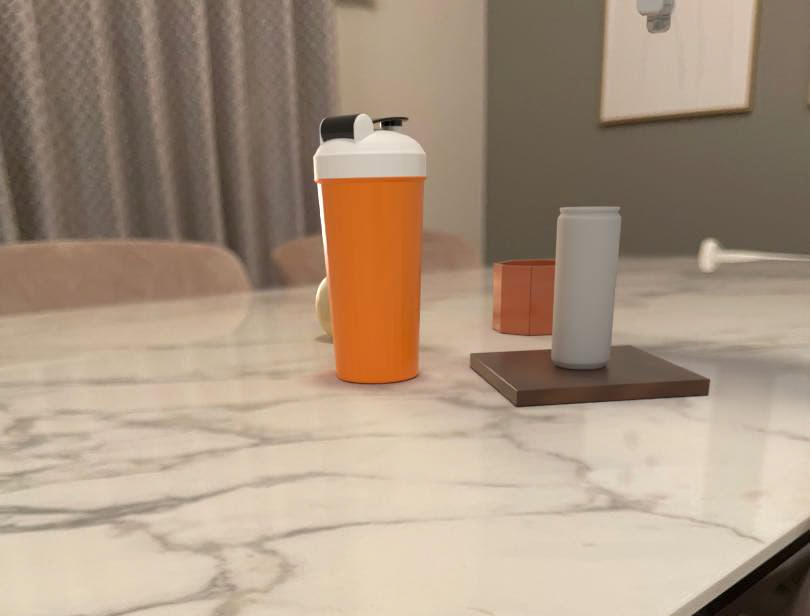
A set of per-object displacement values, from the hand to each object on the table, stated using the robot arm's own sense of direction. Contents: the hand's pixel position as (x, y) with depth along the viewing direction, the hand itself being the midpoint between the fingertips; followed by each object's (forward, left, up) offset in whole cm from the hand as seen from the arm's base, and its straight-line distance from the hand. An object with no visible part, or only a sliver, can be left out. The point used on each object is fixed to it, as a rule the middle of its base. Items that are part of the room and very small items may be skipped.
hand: (654, 23), depth 64 cm
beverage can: (+6, +4, -25) cm, 26 cm away
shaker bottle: (+22, -2, -26) cm, 34 cm away
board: (+6, +4, -26) cm, 27 cm away
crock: (+2, -22, -26) cm, 34 cm away
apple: (+22, -22, -26) cm, 41 cm away
